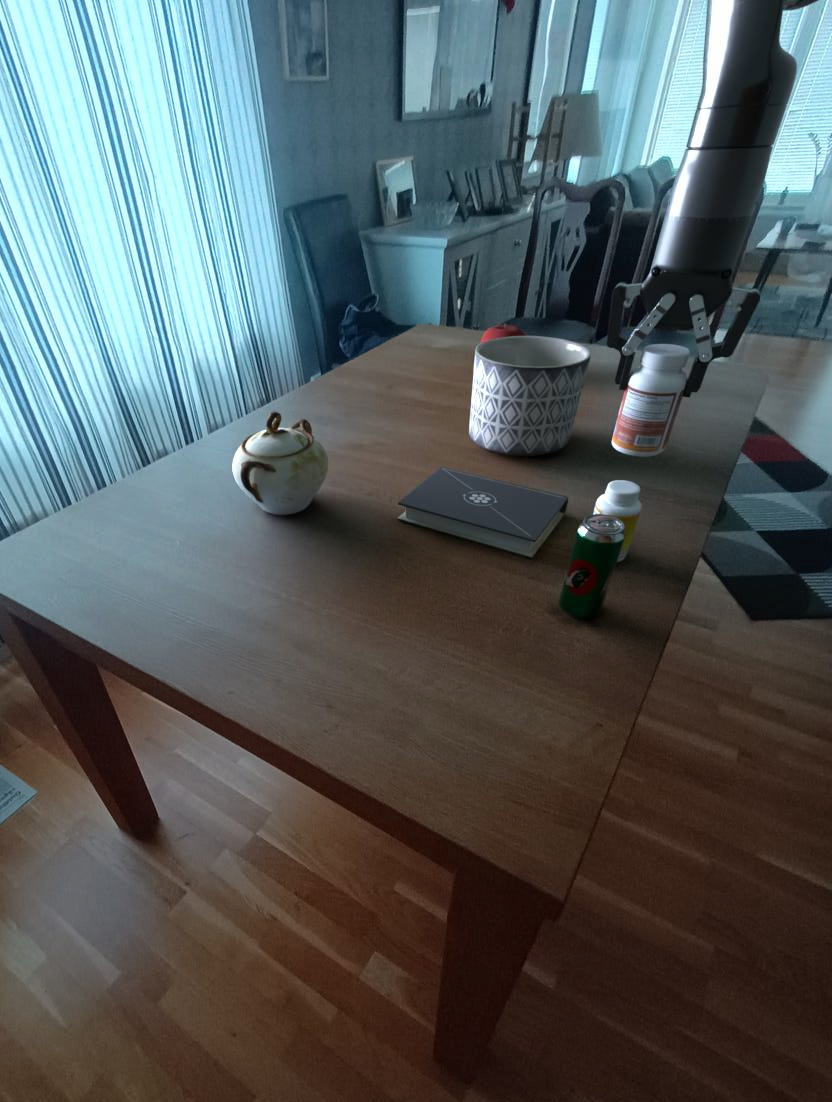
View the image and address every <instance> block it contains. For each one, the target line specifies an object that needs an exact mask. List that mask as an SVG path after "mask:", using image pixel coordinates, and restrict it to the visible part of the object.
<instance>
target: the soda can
mask: <svg viewBox="0 0 832 1102" xmlns="http://www.w3.org/2000/svg"><path fill="white" fill-rule="evenodd" d="M624 539H625V532H624V524H623V522H622V521H621V520H619V519H617V518H615V517H613V516H610V515H605V514H593V513H592V514H589V515H587V516H585V517H584V518H583V520H582V522H581V523H580V524H579V525H578V526H577V529H576V533H575V537H574V540H573V545H572V548H571V552H570V556H569V560H568V564H567V568H566V571H565V576H564V579H563V583H562V587H561V590H560V594H559V599H558V605H559V607H560V609H561V610H562V611H563V612H564V613H565V614H566V615H567V616H570V617H571V618H572V617H573V618H575V619H581V620H587V619H591V618H593V617H596V616H597V615H599V614H600V613H601V611H602V609H603V606H604V603H605V600H606V597H607V594H608V591H609V587H610V585H611V582H612V579H613V576H614V574H615V573H614V572H615V570H616V566H617V563H618V562H617V560H618V557H619V554H620V551H621V548H622V545H623V542H624Z"/></svg>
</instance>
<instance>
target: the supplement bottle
mask: <svg viewBox="0 0 832 1102" xmlns="http://www.w3.org/2000/svg"><path fill="white" fill-rule="evenodd" d="M640 493H641V487H640V485H638V484H637V483H636V482H633V481H629V480H624V479H623V480H622V479H617V480H616V479H615V480H612V481H610V482H609V483H608V484H607V487H606V489H605V492H604V494H601V495H600V496H598V498H597V499H596V502H595V505H594V509H593V512H592V515H593V514H605V515H610V516H613V517H615V518H617V519H619V520H621V521H622V522H623V524H624V532H625V539H624V542H623V545H622V548H621V551H620V554H619V557H618V560H617V563H620V562H622V561H624V559H625V558H626V557H627V554H628V552H629V549H630V545H631V542H632V538H633V535H634V533H635V530H636V526H637V523H638V520H639V518H640V514H641V511H642V507H643V506H642V503H641V500H639V497H640Z"/></svg>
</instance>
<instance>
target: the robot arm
mask: <svg viewBox="0 0 832 1102" xmlns="http://www.w3.org/2000/svg"><path fill="white" fill-rule="evenodd" d="M819 1H820V0H707V3H706V17H705V33H704V44H703V45H704V46H703V57H702V59H703V60H702V85H701V90H700V94H699V98H698V101H697V105H696V109H695V112H694V115H693V116H694V117H693V118H692V119H693V120H692V124H691V127H690V131H689V134H688V139H687V142H686V145H685V147H686V148H685V149H684V152H683V156H682V158H681V162H680V163H679V164H680V165H679V167H678V170H677V171H676V174H675V177H674V181H673V184H672V187H671V191H670V195H669V197H668V200H667V207H666V210H665V214H664V217H663V221H662V225H661V229H660V232H659V237H658V240H657V244H656V248H655V251H654V255H653V260H652V262H651V267H650V271H649V273H648V275H647V277H646V278H645V279H644V280H643V282H641V283H627V282H625V281H620V282H618V283H617V284H616V286H615V287H614V289H613V291H612V293H611V294H612V295H611V302H610V313H609V319H608V328H607V337H606V346H607V348H610V349H614V350H616V351H618V352H619V355H620V357H619V362H618V365H617V369H616V373H615V377H614V384H615V385H618V386H619V387H618V391H624V392H625V388H626V385H627V381H628V378H629V375H630V374H631V371H632V367H633V362H634V359H635V356H636V350H637V349H638V347H639V346H640V344H642V342H643V341H644V340H645V339H646V337H647V336H648V335H649V334H650V333H651V331H652V330H653V329H654V328H655V327H657V329H659V330H667V329H673V328H675V329H677V330H680V331H687V332H689V331H690V330H692V329H693V332H694V338H695V342H696V347H697V356H695V357H694V358H693V362H692V365H691V368H690V371H689V374H688V376H687V384H686V388H685V391H684V394H683V397H682V398H691V396H692V393H696V394H697V393H698V391H699V390H700V389H701V387H702V384H703V382H704V378H705V375H706V372H707V369H708V367H709V364H710V363H711V362H712V361H713V360H716V359H721V358H725V359H726V358H730V357H731V356H733V354H734V352H735V350H736V348H737V347H738V344H739V343H740V340H741V339H742V337H743V334H744V332H745V331H746V328H747V327H748V325H749V323H750V320H751V319H752V316H753V315H754V313H755V311H756V309H757V307H758V306H759V303H760V301H761V293H760V291H759V289H758V288H755V287H752V288H749V289H746V288H739V287H734V286H733V281H732V279H733V273H734V270H735V267H736V264H737V261H738V258H739V256H740V254H741V250H742V247H743V244H744V242H745V238H746V235H747V233H748V230H749V226H750V223H751V221H752V218H753V216H754V213H755V210H756V206H757V204H758V203H759V199H760V195H761V192H762V189H763V186H764V183H765V180H766V176H767V172H768V168H769V163H770V159H771V155H772V151H773V148H774V147H773V146H774V144H775V142H776V138H777V137H778V133H779V130H780V127H781V124H782V121H783V119H784V116H785V113H786V110H787V107H788V104H789V102H790V99H791V95H792V92H793V89H794V85H795V81H796V78H797V72H798V63H797V59H796V58H795V57H794V56H793V55H792V54H791V53H790V52H788V51H786V50H785V49H784V48H783V47H782V45H781V42H780V41H781V40H780V39H781V28H782V20H783V14H784V12H788V11H789V12H790V11H796V10H799V9H802V8H806V7H808V6H810V5H812V4H813V5H814V4H815V3H818V2H819ZM637 296H640V298H641V301H642V302H643V303H642V304H643V306H644V308H645V311H646V314H645V315H644V317H643V318H642V320H641V321H640V322H639V323H638V325H637V326H636V327H635V328H634V330H633V331H632V333H631V334H630V335H629V336H626V335H624V334H622V331H623V323H624V316H625V309H626V308H629V307H630V306H631V305H632V304H633V302H634V299H635V298H636V297H637ZM728 300H730V301H731V306H730V310H731V313H732V314H733V315H734V316H733V318H732V320H731V323H730V325H729V327H728V329H727V330H726V333H725V335H724V336H723V339H722V341H719V342H715V343H713V342H712V336H711V329H710V322H709V317H710V316H711V315H713V313H715V312H716V311H717V310H718V309H720V308H721V306H723V304H725V303H726V302H727V301H728Z"/></svg>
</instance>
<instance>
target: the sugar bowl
mask: <svg viewBox="0 0 832 1102" xmlns="http://www.w3.org/2000/svg"><path fill="white" fill-rule="evenodd" d="M281 422H282V415H281V413H280V412H278V411H275V410H273V411H271V412H270V413H269V414H268V416H267V419H266V423H265V428H266V429H263V430H260V431H257V432H255V433H252V434H250V435H249V436H247V437H246V438H244V440H243V441H242V442H241V444H240V446H239V447H238V448H237V450H236V452H235V453H234V456H233V459H232V463H231V464H232V465H231V467H232V469H231V470H232V474H233V477H234V480H235V482H236V484H237V485H238V487H239V488H240V489H241V490H242V492H244V493H245V494H246V496H247V497H249V498H250V499H251V500H252V501H253V502H254V503H256V504H257V505H258V506H259V507H260V508H261V509H262V510H263V511H264V512H267V513H269V514H272V515H278V516H287V515H293V514H296V513H299V512H301V511H303V510H305V509H306V508H307V507H309V506H310V504H311V502H312V501H313V499H314V497H315V496H316V494H317V493H318V492H319V490H320V489H321V488H322V485H323V483H324V481H325V480H326V477H327V474H328V470H329V458H328V454H327V452H326V450H325V448H324V446H323V445H322V444H321V443H320V442H319V441H318V440H317V439H316V438H315V436H314V435H313V429H312V425H311V423H310V421H308V420H307V419H306V418H301V419H299V420H298V421H296V422H295V423H294V424H292V425H291V426H289V427H280V426H281ZM299 428H300V429H299Z"/></svg>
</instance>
